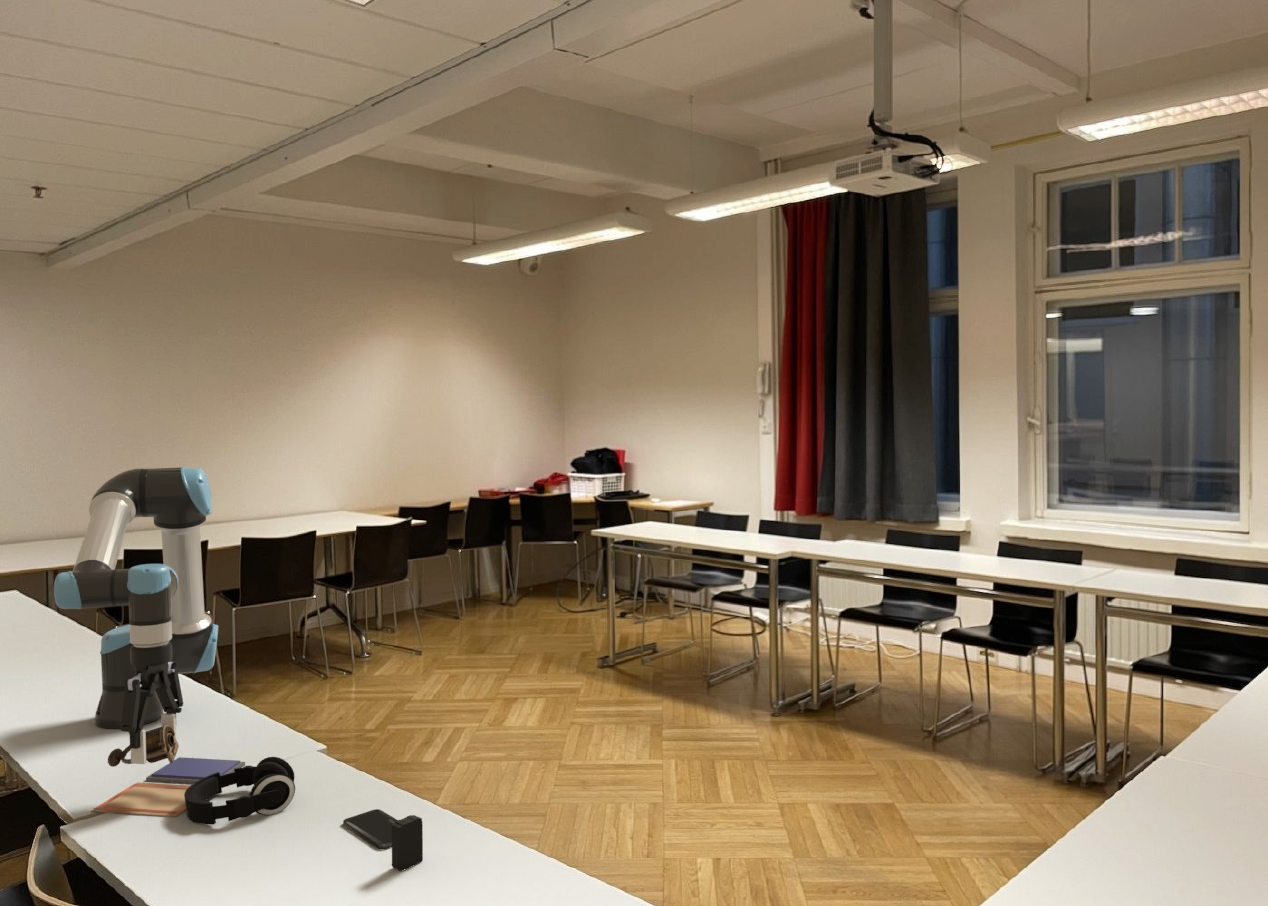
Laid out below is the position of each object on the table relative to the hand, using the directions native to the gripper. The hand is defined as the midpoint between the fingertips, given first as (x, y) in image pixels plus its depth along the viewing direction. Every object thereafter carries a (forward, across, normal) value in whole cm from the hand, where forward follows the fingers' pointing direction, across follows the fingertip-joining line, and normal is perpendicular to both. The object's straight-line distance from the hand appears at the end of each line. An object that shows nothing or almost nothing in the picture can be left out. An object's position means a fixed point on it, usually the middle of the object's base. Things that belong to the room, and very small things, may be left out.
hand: (154, 754), depth 193 cm
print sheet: (+9, 0, 0) cm, 9 cm away
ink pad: (+9, -14, 0) cm, 17 cm away
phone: (+10, +7, +50) cm, 51 cm away
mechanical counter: (+2, 0, -2) cm, 3 cm away
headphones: (+10, +1, +19) cm, 21 cm away
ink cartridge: (+10, +19, +60) cm, 64 cm away
